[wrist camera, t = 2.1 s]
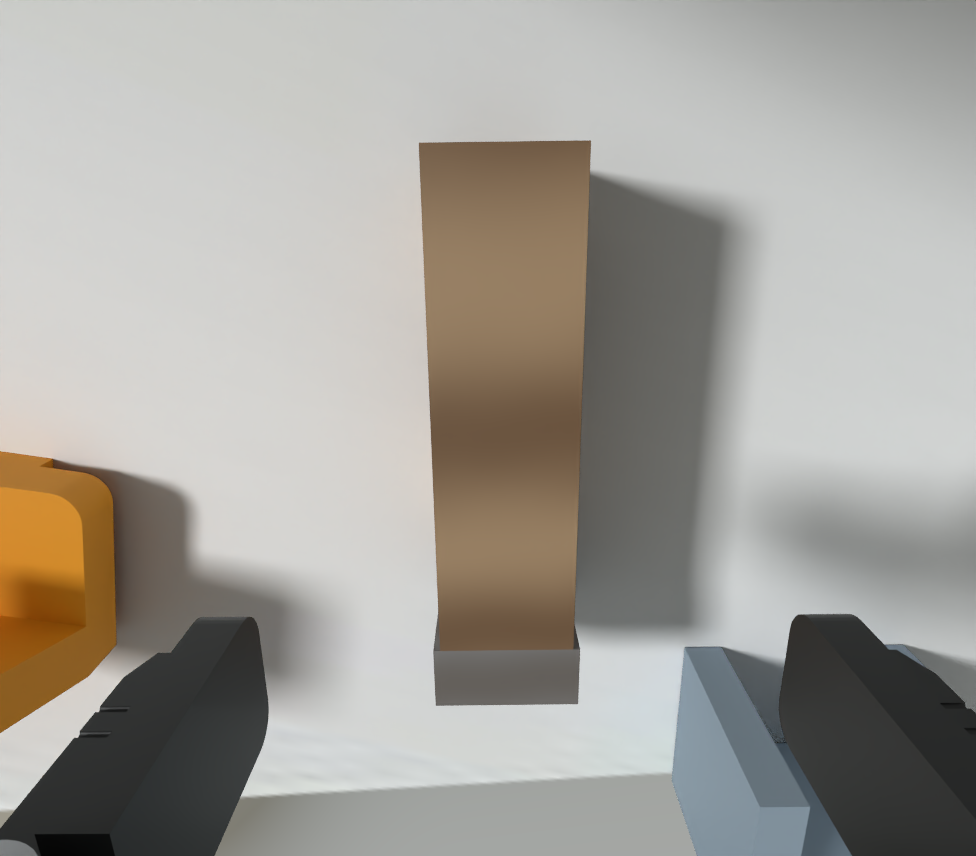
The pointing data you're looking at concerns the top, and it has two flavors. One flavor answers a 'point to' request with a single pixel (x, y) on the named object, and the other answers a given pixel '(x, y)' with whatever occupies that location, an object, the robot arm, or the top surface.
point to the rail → (505, 412)
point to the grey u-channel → (742, 771)
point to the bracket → (52, 581)
